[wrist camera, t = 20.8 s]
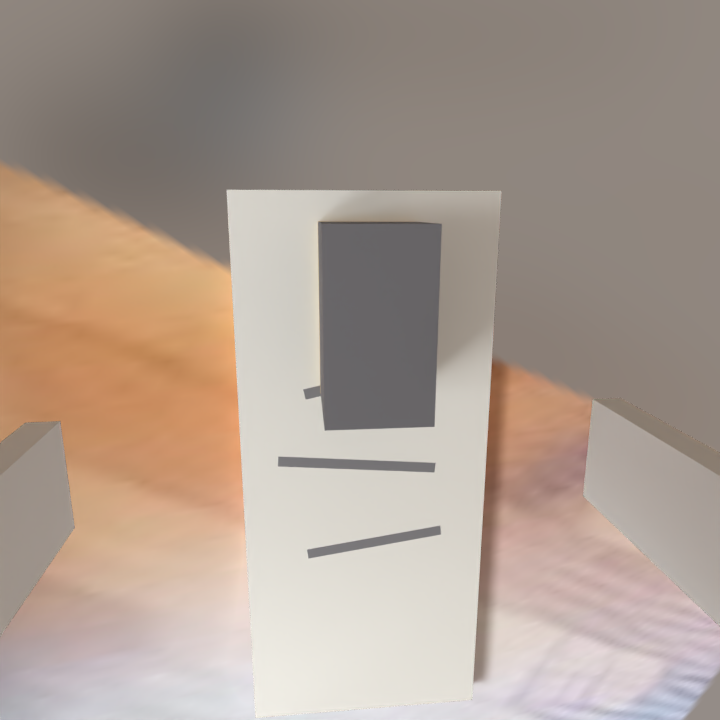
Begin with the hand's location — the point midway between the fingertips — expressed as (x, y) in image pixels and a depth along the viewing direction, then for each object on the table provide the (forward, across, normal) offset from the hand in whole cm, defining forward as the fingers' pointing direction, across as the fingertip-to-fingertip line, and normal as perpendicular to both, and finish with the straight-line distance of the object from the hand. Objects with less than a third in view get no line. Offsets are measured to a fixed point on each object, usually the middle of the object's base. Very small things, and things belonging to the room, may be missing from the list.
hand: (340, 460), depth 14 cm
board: (+18, +3, -9) cm, 21 cm away
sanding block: (+17, +3, +1) cm, 17 cm away
